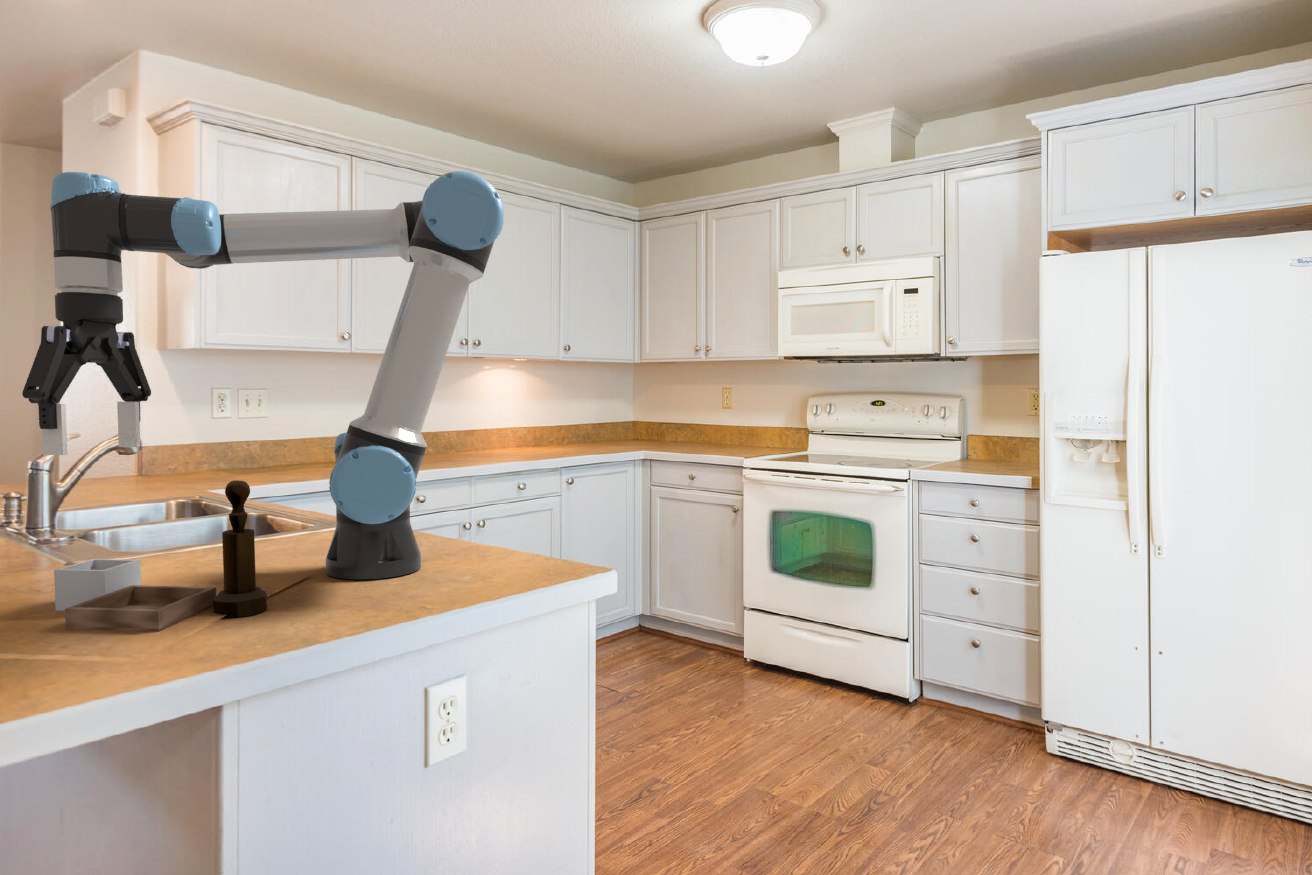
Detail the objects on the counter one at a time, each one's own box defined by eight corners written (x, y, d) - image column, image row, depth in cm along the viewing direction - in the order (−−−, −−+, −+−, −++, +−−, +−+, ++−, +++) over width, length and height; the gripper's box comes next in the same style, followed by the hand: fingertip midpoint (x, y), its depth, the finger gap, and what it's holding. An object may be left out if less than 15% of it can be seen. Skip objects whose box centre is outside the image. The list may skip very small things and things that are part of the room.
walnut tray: (216, 608, 113) (216, 587, 113) (159, 635, 101) (158, 611, 101) (133, 606, 113) (132, 585, 113) (65, 632, 101) (65, 608, 101)
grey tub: (141, 601, 116) (140, 559, 116) (105, 615, 109) (104, 571, 109) (94, 600, 116) (93, 558, 116) (55, 614, 109) (54, 569, 109)
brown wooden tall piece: (226, 605, 115) (223, 477, 113) (274, 604, 115) (271, 477, 114) (204, 618, 108) (201, 483, 107) (255, 618, 108) (252, 483, 107)
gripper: (127, 302, 122) (131, 443, 124) (-20, 281, 98) (-12, 458, 99) (175, 302, 122) (179, 444, 123) (40, 281, 97) (47, 459, 99)
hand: (94, 450), depth 111 cm, fingers open, 13 cm apart
